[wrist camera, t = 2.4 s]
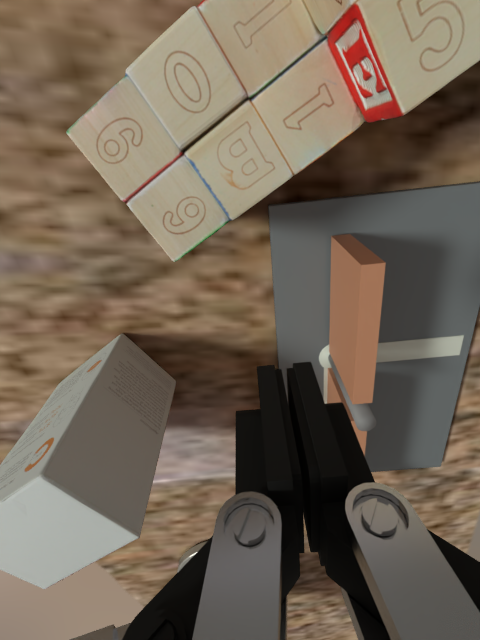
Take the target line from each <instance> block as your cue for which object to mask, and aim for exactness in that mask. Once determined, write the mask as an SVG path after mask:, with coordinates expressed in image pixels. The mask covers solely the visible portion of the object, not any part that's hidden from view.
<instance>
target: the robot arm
mask: <svg viewBox="0 0 480 640" xmlns="http://www.w3.org/2000/svg"><path fill="white" fill-rule="evenodd" d="M257 374H258V385H259V397H260V408H261V409H257V410H245V411H236V495H234V496H233V497H231V498H230V499H229V500H227V501H226V502H225V503H224V505H223V506H222V507H221V509H220V511H219V513H218V516H217V519H216V524H215V529H214V534H213V536H212V537H211V538H210V539H209V540H208V541H206V542H202V543H200V544H198V545H196V546H194V547H192V548H191V549H189V550H188V551H186V553H185V554H184V555H183V556H182V557H181V559H180V561H179V565H178V571H177V574H176V575H175V576H174V577H173V578H172V579H171V580H170V581H169V582H168V583H167V584H166V585H165V586H164V588H163V589H162V590H161V591H160V592H159V593H158V594H157V595H156V596H155V597H154V598H153V599H152V600H151V601H150V602H149V603H148V604H147V605H146V606H145V607H144V608H143V610H142V611H141V612H140V613H139V614H138V615H137V616H136V617H135V619H134V620H133V621H132V623H129V624H126V625H124V626H120V627H118V628H115V626H114V625H111V626H107V627H105V628H102V629H99V630H96V631H93V632H90V633H88V634H85V635H82V636H79V637H77V638H73V639H71V640H287V594H288V593H289V591H290V590H291V589H292V587H293V586H294V584H295V583H296V581H297V580H298V579H299V577H300V562H299V553H304V524H303V513H304V519H305V525H306V530H307V536H308V542H309V547H310V551H311V552H318V554H319V559H320V564H321V566H325V568H326V573H327V575H328V576H329V577H330V578H331V579H332V580H334V581H335V582H336V583H337V584H338V585H339V586H340V587H341V591H342V595H343V598H344V601H345V603H346V606H347V609H348V612H349V614H350V617H351V620H352V623H353V626H354V628H355V631H356V634H357V637H358V639H359V640H480V562H478V561H477V560H475V559H474V558H472V557H470V556H469V555H467V554H466V553H464V552H463V551H461V550H459V549H458V548H456V547H455V546H453V545H451V544H450V543H448V542H447V541H445V540H443V539H442V538H440V537H439V536H437V535H435V534H434V533H432V532H431V531H429V530H427V529H426V527H425V526H424V524H423V523H422V521H421V519H420V518H419V516H418V515H417V513H416V512H415V510H414V508H413V507H412V505H411V504H410V503H409V502H408V501H407V499H406V498H405V497H404V496H403V495H402V494H400V493H399V492H398V491H396V490H395V489H393V488H391V487H389V486H387V485H384V484H380V483H375V481H374V479H373V476H372V474H371V471H370V469H369V466H368V464H367V461H366V459H365V456H364V454H363V451H362V449H361V446H360V444H359V441H358V438H357V436H356V433H355V431H354V428H353V426H352V423H351V421H350V418H349V416H348V413H347V411H346V408H345V406H344V404H343V403H342V402H339V403H327V404H325V403H324V400H323V397H322V393H321V390H320V387H319V384H318V381H317V378H316V375H315V372H314V369H313V366H312V363H311V362H301V363H293V368H287V390H288V401H287V395H286V390H285V385H284V380H283V375H282V370H281V369H275V367H274V365H268V366H257Z"/></svg>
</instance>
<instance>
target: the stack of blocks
mask: <svg viewBox="0 0 480 640" xmlns="http://www.w3.org/2000/svg"><path fill="white" fill-rule="evenodd" d="M478 61H480V0H203V1H202V2H201V3H200V4H199V5H198V6H193V7H191V8H190V9H189V10H188V11H187V12H186V13H184V14H183V15H182V16H181V17H180V18H179V19H178V20H177V21H176V22H175V23H174V24H173V25H172V26H170V27H169V28H168V29H167V30H166V31H165V32H164V33H163V34H162V35H161V36H160V37H159V38H158V39H157V40H156V41H155V42H154V43H152V44H151V45H150V46H149V47H148V48H147V49H146V50H145V51H144V52H143V53H142V54H141V55H140V56H139V57H138V58H137V59H136V60H135V61H134V62H133V63H132V64H131V65H130V66H129V67H128V68H127V69H126V75H125V77H124V78H123V79H121V80H120V81H119V82H118V83H117V84H116V85H114V86H113V87H112V88H111V89H110V90H109V91H108V92H107V93H106V94H105V95H104V96H103V97H102V98H101V99H100V100H99V101H98V102H97V103H95V104H94V105H93V106H92V107H91V108H90V109H89V110H88V111H87V112H86V113H85V114H84V115H83V116H82V117H80V118H79V119H78V120H77V121H76V122H75V123H74V124H73V125H72V126H71V127H70V128H69V129H68V130H67V132H66V133H67V134H68V136H69V137H70V138H71V139H72V141H73V142H74V143H75V144H76V145H77V147H78V148H79V149H80V150H81V152H82V153H83V154H84V155H85V157H86V158H87V159H88V160H89V161H90V162H91V164H92V165H93V166H94V167H95V168H96V170H97V171H98V172H99V173H100V174H101V176H102V177H103V178H104V180H105V181H106V182H107V183H108V185H109V186H110V187H111V188H112V189H113V191H114V192H115V193H116V194H117V196H118V197H119V198H120V199H121V200H122V201H124V202H125V203H126V204H127V205H128V207H129V208H130V209H131V211H132V212H133V213H134V214H135V216H136V217H137V218H138V219H139V221H140V222H141V223H142V224H143V226H144V227H145V228H146V229H147V230H148V232H149V233H150V234H151V235H152V236H153V237H154V238H155V240H156V241H157V242H158V244H159V245H160V246H161V247H162V248H163V250H164V251H165V252H166V253H167V255H168V256H169V257H170V258H171V259H172V260H173V261H177V260H179V259H180V258H181V257H183V256H184V255H185V254H187V253H188V252H189V251H191V250H192V249H194V248H195V247H196V246H198V245H199V244H200V243H201V242H203V241H204V240H206V239H207V238H208V237H210V236H211V235H213V234H214V233H215V232H217V231H218V230H219V229H220V228H221V227H223V226H224V225H225V224H226V223H227V222H229V221H231V220H234V219H236V218H237V217H239V216H240V215H241V214H243V213H244V212H245V211H247V210H248V209H250V208H251V207H252V206H254V205H255V204H256V203H258V202H259V201H260V200H262V199H263V198H264V197H266V196H267V195H269V194H270V193H271V192H273V191H274V190H275V189H277V188H278V187H279V186H281V185H282V184H283V183H285V182H286V181H288V180H289V179H290V178H291V177H292V176H294V175H295V174H297V173H299V172H300V171H302V170H304V169H305V168H306V167H307V166H309V165H310V164H312V163H313V162H314V161H316V160H317V159H318V158H320V157H321V156H322V155H324V154H325V153H326V152H328V151H329V150H330V149H331V148H333V147H334V146H335V145H337V144H338V143H339V142H341V141H342V140H343V139H345V138H346V137H347V136H349V135H350V134H351V133H353V132H354V131H355V130H356V129H358V128H359V127H360V126H361V125H362V123H363V122H364V121H367V122H375V121H379V120H386V119H391V118H397V117H401V116H404V115H405V114H407V113H408V112H409V111H411V110H412V109H414V108H415V107H416V106H418V105H419V104H420V103H422V102H423V101H424V100H426V99H427V98H428V97H430V96H431V95H433V94H434V93H435V92H437V91H438V90H440V89H441V88H442V87H444V86H445V85H447V84H448V83H449V82H451V81H452V80H453V79H455V78H456V77H458V76H459V75H460V74H462V73H463V72H464V71H466V70H467V69H468V68H470V67H471V66H473V65H474V64H475V63H477V62H478Z"/></svg>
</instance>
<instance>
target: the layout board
mask: <svg viewBox="0 0 480 640" xmlns="http://www.w3.org/2000/svg"><path fill="white" fill-rule="evenodd" d="M268 212H269V227H270V243H271V258H272V274H273V289H274V305H275V320H276V336H277V351H278V367H279V369H281V370H282V375H283V380H284V385H285V390H286V395H287V401H288V390H287V368H293V363H301V362H311V363H312V366H313V369H314V372H315V375H316V378H317V381H318V384H319V387H320V390H321V393H322V397H323V400H324V403H325V404H327V385H328V368H332V367H331V365H330V363H329V360H328V356H329V354H330V352H329V331H330V278H331V236H334V235H344V234H351V235H352V236H353V237H354V238H356V239H357V240H358V241H359V242H361V243H362V244H363V245H364V246H366V247H367V248H368V249H369V250H371V251H372V252H373V253H374V254H376V255H377V256H378V257H379V258H381V259H382V260H383V261H384V262H385V263H386V265H385V275H384V286H383V296H382V307H381V317H380V327H379V338H378V348H377V359H376V369H375V380H374V390H373V400H372V403H368V405H369V407H370V409H371V411H372V413H373V415H374V417H375V419H376V422H377V423H376V426H375V427H374V428H373V429H372V430H369V431H367V437H366V448H365V459H366V461H367V464H368V466H369V469H370V471H371V472H377V471H389V470H402V469H415V468H427V467H440V466H441V463H442V459H443V455H444V450H445V446H446V442H447V438H448V434H449V430H450V426H451V422H452V418H453V413H454V409H455V405H456V401H457V397H458V393H459V389H460V385H461V381H462V376H463V372H464V368H465V364H466V360H467V356H468V352H469V348H470V344H471V339H472V335H473V331H474V327H475V323H476V319H477V315H478V311H479V307H480V181H479V182H470V183H461V184H452V185H443V186H434V187H425V188H416V189H407V190H398V191H389V192H380V193H371V194H362V195H353V196H344V197H335V198H326V199H317V200H308V201H299V202H290V203H281V204H272V205H268Z"/></svg>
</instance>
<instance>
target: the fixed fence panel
mask: <svg viewBox="0 0 480 640" xmlns="http://www.w3.org/2000/svg"><path fill="white" fill-rule="evenodd" d="M339 402H342V403H343V404H344V406H345V408H346V411H347V413H348V416H349V418H350V421H351V423H352V426H353V428H354V431H355V433H356V436H357V438H358V441H359V444H360V446H361V449H362V451H363V454H364V456H365V448H366V437H367V431H361V430H359V429H358V428H357V426H356V424H355V421H354V419H353V417H352V414H351V412H350V410H349V407H348V405H347V403H346V400H345V398H344V396H343V393H342V391H341V388H340V386H339V384H338V381H337V379H336V377H335V374H334V372H333V370H332V368H328V385H327V403H339Z"/></svg>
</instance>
